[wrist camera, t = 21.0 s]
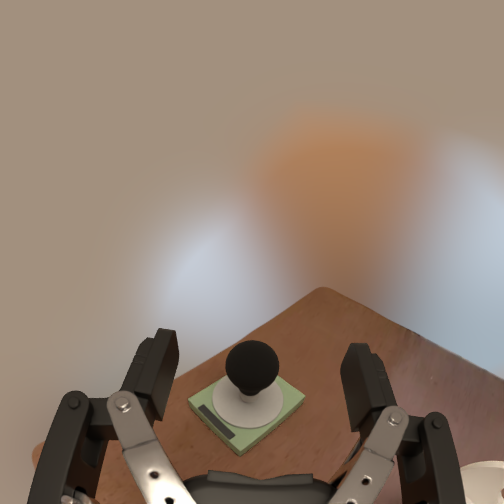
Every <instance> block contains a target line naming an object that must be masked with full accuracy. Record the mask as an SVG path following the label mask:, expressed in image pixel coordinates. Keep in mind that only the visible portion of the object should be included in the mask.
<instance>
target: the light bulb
mask: <svg viewBox="0 0 504 504" xmlns="http://www.w3.org/2000/svg"><path fill="white" fill-rule="evenodd" d="M225 368H226V373H227V376H228V378H229V380H230V381H231V382H232V383H233V384H234V385H235V386H236V387H238V389H239V396H240V398H241V399H242V400H243V401H245V402H248V403H251V402H254V401H256V400H257V399H258V397H259V392H260V391H261V390H264V389H266V388H267V387H269V386H270V385H271V384H272V383H273V382H274V381H275V379H276V377H277V375H278V372H279V361H278V357H277V355H276V353H275V352H274V350H273V349H272V348H271V347H270V346H268V345H267V344H265V343H263V342H260V341H255V340H250V341H245V342H242V343H239V344H238V345H236V346H235V347H234V348H233V349H232V350H231V351H230V353H229V354H228V357H227V359H226V367H225Z"/></svg>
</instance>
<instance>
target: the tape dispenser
mask: <svg viewBox="0 0 504 504" xmlns="http://www.w3.org/2000/svg"><path fill="white" fill-rule="evenodd" d="M460 471H461V476H462V481H463V487H464V493H465V499H466V504H504V499H503V498H502V496H501V490H502V489H503V488H504V462H503V461H483V462H477V463H473V464H469V465H466V466H464V467H461V468H460Z"/></svg>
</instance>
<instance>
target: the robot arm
mask: <svg viewBox="0 0 504 504" xmlns="http://www.w3.org/2000/svg"><path fill="white" fill-rule="evenodd" d="M178 362H179V349H178V342H177V337H176V331H175V330H169V329H162V328H159V329H158V330H157V333H156V335H155V337H154V338H148V337H147V338H146V339H145V340H144V341H143V342H142V343H141V344H140V345H139V347H138V349H137V352H136V355H135V356H134V358H133V362H132V363H131V365H130V368H129V370H128V372H127V375H126V377H125V379H124V382H123V384H122V387H121V389H120V390H119V391H118V392H115V393H113V394H112V395H111V396H110V397H108V398H88V397H87V396H86V395H85V394H84V393H83V392H81V391H71V392H68V393H67V394H65V395H64V397H63V398H62V400H61V403H60V405H59V407H58V410H57V412H56V415H55V417H54V420H53V422H52V425H51V428H50V430H49V433H48V435H47V438H46V441H45V444H44V446H43V449H42V452H41V455H40V458H39V462H38V465H37V468H36V471H35V475H34V478H33V482H32V485H31V489H30V493H29V497H28V502H27V504H100V503H99V502H98V501H97V500H95V495H96V490H97V486H98V481H99V477H100V472H101V468H102V464H103V460H104V456H105V452H106V448H107V445H108V441H109V440H119V441H120V443H121V446H122V449H123V450H122V453H123V456H124V459H125V461H126V463H127V465H128V467H129V469H130V472H131V474H132V476H133V478H134V480H135V482H136V484H137V485H138V487H139V489H140V491H141V493H142V495H143V497H144V498H145V500H146V502H147V504H373V503H374V501H375V499H376V498H377V496H378V494H379V493H380V491H381V489H382V487H383V486H384V484H385V482H386V480H387V478H388V476H389V474H390V472H391V470H392V468H393V466H394V461H393V457H394V455H397V462H398V469H399V476H400V484H401V493H402V503H403V504H466V499H465V493H464V487H463V481H462V476H461V471H460V467H459V462H458V458H457V454H456V450H455V446H454V442H453V438H452V435H451V431H450V428H449V424H448V421H447V419H446V417H445V416H444V415H443V414H441V413H439V412H431V413H429V414H428V415H427V416H426V417H425V418H424V417H416V416H410V415H408V414H407V413H406V411H405V410H404V409H402V408H401V407H398V406H397V403H396V400H395V397H394V394H393V391H392V388H391V385H390V382H389V379H388V376H387V373H386V372H385V367H384V364H383V361H382V360H381V359H380V358H379V357H378V355H377V354H376V353H375V354H371V352H370V349H369V346H368V344H367V343H351V344H350V346H349V348H348V350H347V353H346V355H345V357H344V359H343V361H342V364H341V369H340V374H341V379H342V384H343V389H344V394H345V399H346V404H347V410H348V415H349V420H350V426H351V432H358V431H359V432H360V437H359V439H358V440H357V442H356V444H355V445H354V447H353V448H352V450H351V452H350V453H349V455H348V456H347V458H346V459H345V461H344V462H343V464H342V465H341V467H340V468H339V469H338V470H337V472H336V473H335V474H334V475H333V476H332V477H331V479H330V480H329V481H328V483H327V482H324V481H322V480H318V479H314V478H313V474H292V475H284V476H280V477H275V478H270V479H265V480H258V479H254V478H250V477H247V476H243V475H240V474H237V473H231V472H221V471H213V470H208V474H206V475H199V476H195V477H191V478H189V479H187V480H185V481H182V479H181V477H180V476H179V474H178V473H177V471H176V469H175V468H174V466H173V465H172V463H171V461H170V460H169V458H168V456H167V454H166V453H165V451H164V449H163V447H162V445H161V443H160V442H159V440H158V438H157V436H156V434H155V432H154V430H153V424H154V421H155V420H158V421H162V419H163V415H164V412H165V408H166V404H167V401H168V397H169V394H170V390H171V387H172V383H173V380H174V376H175V373H176V369H177V366H178Z"/></svg>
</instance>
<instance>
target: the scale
mask: <svg viewBox="0 0 504 504" xmlns="http://www.w3.org/2000/svg"><path fill="white" fill-rule="evenodd" d="M304 399H305V395H304V394H302V393H301V392H299V391H298V390H297V389H295V388H294V387H292V386H291V385H290V384H288V383H287V382H286V381H284V380H283V379H282V378H280V377H279V376H278V375H277V377H276V379H275V381H274V382H273V383H272V384H271V385H270V386H269V387H267V388H266V389H264V390H261V391H260V392H259V397H258V399H257V400H256V401H254V402H251V403H248V402H245V401H243V400H242V399H241V398H240V396H239V389H238V387H236V386H235V385H234V384H233V383H232V382H231V381H230V380H229V378H228V376H227V375H226V376H224V377H223V378H221V379H220V380H218V381H216V382H215V383H213V384H212V385H210V386H209V387H207V388H205V389H204V390H202V391H200V392H199V393H197V394H195V395H194V396H192V397H190V398H189V399H188V402H189V406H190V408H191V409H192V410H193V411H194V412H195V413H196V414H197V415H198V416H199V417H200V418H201V419H202V421H203V422H204V423H205V424H206V425H207V426H208V427H209V428H210V429H211V430H212V431H213V432H214V433H215V434H216V435H217V436H218V437H219V438H220V439H221V440H222V441H223V442H225V443H226V444H227V445H228V446H229V447H230V448H231V449H232V450H233V451H234V452H235V453H236V454H237V455H239V456H241V455H243V454H244V453H245V452H247V451H248V450H249V449H251V448H252V447H253V446H254V445H256V444H257V443H258V442H259V441H261V440H262V439H263V438H264V437H265V436H267V435H268V434H269V433H270V432H271V431H273V430H274V429H275V428H276V427H277V426H278V425H280V424H281V423H282V422H283V421H284V420H285V419H286V418H287V417H289V416H290V415H291V414H292V413H293V412H294V411H295V410H296V409H297V408H298V407H299V406H300V405H302V403H303V401H304Z"/></svg>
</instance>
